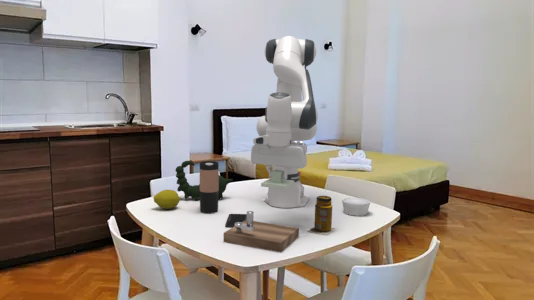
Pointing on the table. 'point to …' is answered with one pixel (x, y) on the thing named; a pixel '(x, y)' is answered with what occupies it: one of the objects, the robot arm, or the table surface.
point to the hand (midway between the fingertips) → (278, 178)
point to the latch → (249, 224)
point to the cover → (277, 180)
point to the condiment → (323, 216)
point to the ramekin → (355, 206)
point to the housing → (263, 236)
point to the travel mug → (209, 186)
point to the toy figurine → (195, 190)
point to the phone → (235, 219)
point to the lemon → (167, 199)
